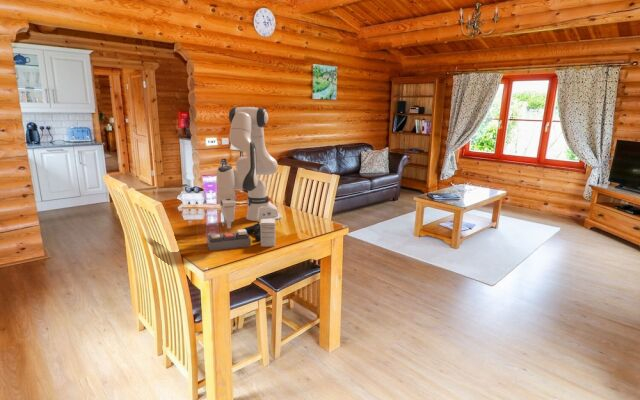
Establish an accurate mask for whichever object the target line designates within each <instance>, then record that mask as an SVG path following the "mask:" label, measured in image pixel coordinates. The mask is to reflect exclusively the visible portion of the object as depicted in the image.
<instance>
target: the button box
mask: <svg viewBox="0 0 640 400" xmlns="http://www.w3.org/2000/svg"><path fill="white" fill-rule="evenodd" d="M230 233H231V232H227V233H226V232H225V233H218V234H217V233H215V234H214V235H220V238H215V239H211V235H212V234H206V244H207V248H208V249H209V252H211V251H220V250H221V251H222V250H227V249H229V250H230V249H235V248H247V247H251V246H252V245H251V244H252V243H251V242H252V239H251V237H250V234H248V233H247V234H244V235H239V234H238V233H237V231H235V232H232V233H233V235H234V237H225V236H224V234H230Z"/></svg>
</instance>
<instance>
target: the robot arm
mask: <svg viewBox="0 0 640 400" xmlns="http://www.w3.org/2000/svg"><path fill="white" fill-rule="evenodd" d="M268 113H269V112H268V111H267V110H266V109H265V108H264V107H257V106H255V107H253V106H239V107H238V106H235V107H231V109H230V110H229V111H228V121H229V123H230V129H229V134H228V139H229V140H228V141H229V142H230V144H231V146H233V147H234V148H235V149H237V150H238V151H241V152H244V153H245V154H246V156H239V157H238V158H237V159H236V162H235V169H236V170H235V169H234V167H232V166H231V165H224V166H220V167H218V168H217V171H216V187H217V191H216V198H217V199H216V200H217V201H216V202H217V203H218V204H219V206H220V212H221V214H222V216H223V222H224V223H225V224H226V228H227V229H228V230H229V229H232V222H234V221H235V216H236V215H235V212H236V211H235V210H236V208H235V207H236V205H237V202H236V200H237V199H236V190H239V191H240V190H242V191H247V199H246V200H247V211H246V216H245V219H246V220H248V221H253V222H258V223H260V222H261V219H275V221H276V220H282V218H283V216H282V214H281V213H280V212H279V210H278V207H277V206H276V205H275V204H273V203H272V202H270V201H272V197H270V196H268V195H267V185H266V183H265V182H264V181H263V180H262V179H260V178H259V177H258V175H260V176H261V175H262V176H263V175H264V176H267V175H274V174H275V173H277V171H278V165H279V163H278V162H277V160H276V159H275V158H274V156H272V155H270V153H269V151H268V150H267V148H266V143H265V142H266V141H265V130H264V127H265V126H266V125H268V121H269V114H268Z"/></svg>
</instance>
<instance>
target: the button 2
mask: <svg viewBox="0 0 640 400" xmlns="http://www.w3.org/2000/svg"><path fill="white" fill-rule="evenodd" d="M236 232H237V233H238V234H239V235H244V234H247V231H246V229H244V228H242V229H237V231H236Z"/></svg>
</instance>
